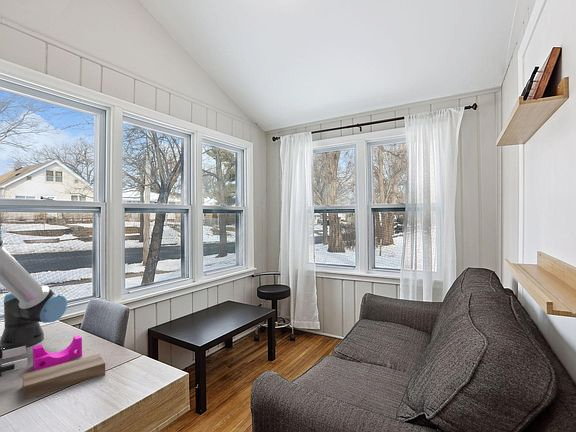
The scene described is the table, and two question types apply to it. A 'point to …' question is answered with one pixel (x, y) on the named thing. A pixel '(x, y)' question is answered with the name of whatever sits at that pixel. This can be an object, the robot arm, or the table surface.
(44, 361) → the toy block
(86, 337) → the table surface
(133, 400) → the table surface
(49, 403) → the table surface
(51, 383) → the base brick
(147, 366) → the table surface
